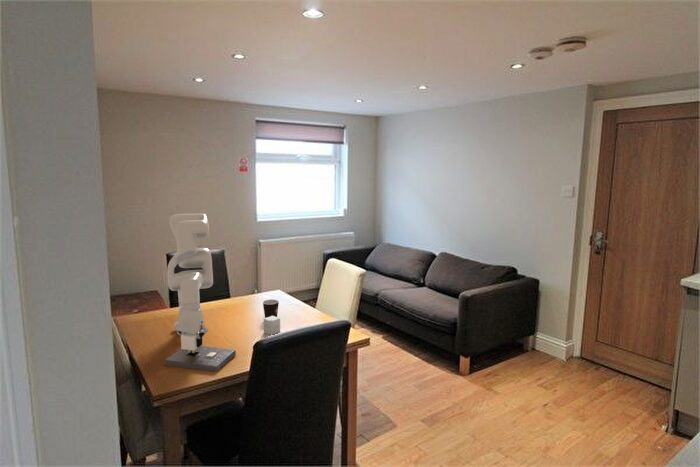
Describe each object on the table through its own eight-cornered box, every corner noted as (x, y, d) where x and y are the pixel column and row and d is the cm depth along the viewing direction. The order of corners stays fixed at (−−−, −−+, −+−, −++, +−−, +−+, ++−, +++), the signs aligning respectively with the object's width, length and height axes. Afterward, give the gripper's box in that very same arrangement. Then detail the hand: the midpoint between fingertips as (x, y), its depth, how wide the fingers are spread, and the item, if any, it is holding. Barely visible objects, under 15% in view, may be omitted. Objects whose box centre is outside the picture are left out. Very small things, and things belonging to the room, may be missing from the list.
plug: (181, 354, 180) (180, 335, 179) (191, 347, 187) (190, 329, 185) (194, 355, 179) (193, 337, 177) (203, 348, 185) (202, 330, 184)
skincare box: (272, 328, 219) (272, 315, 217) (280, 331, 215) (280, 318, 214) (263, 332, 214) (263, 318, 213) (271, 335, 210) (271, 321, 209)
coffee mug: (270, 323, 226) (270, 305, 224) (259, 319, 231) (259, 302, 230) (286, 317, 235) (285, 300, 234) (275, 314, 240) (275, 297, 239)
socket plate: (165, 365, 177) (164, 358, 177) (187, 349, 193) (187, 342, 192) (216, 372, 172) (216, 364, 172) (235, 355, 187) (235, 348, 187)
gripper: (167, 306, 178) (169, 346, 180) (203, 310, 174) (205, 351, 177) (178, 301, 185) (180, 340, 188) (213, 304, 181) (215, 343, 184)
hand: (192, 345), depth 182 cm, fingers closed on plug, 6 cm apart
